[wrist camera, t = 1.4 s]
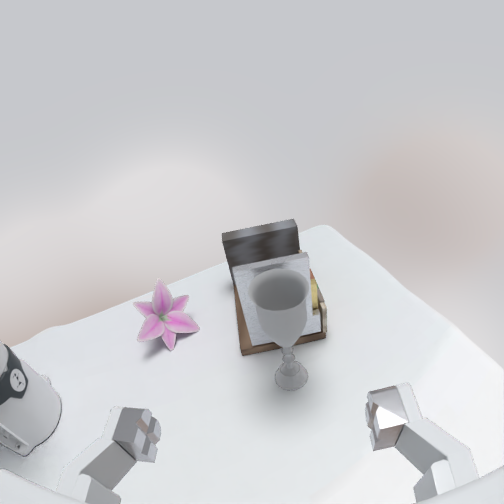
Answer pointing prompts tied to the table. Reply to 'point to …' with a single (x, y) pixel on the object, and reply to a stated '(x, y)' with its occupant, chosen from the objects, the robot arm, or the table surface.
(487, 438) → the table surface
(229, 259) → the wooden book stand
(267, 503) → the table surface
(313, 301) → the drag pointer
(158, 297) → the lily
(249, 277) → the grey metal angled plate
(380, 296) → the table surface
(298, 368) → the chalice
